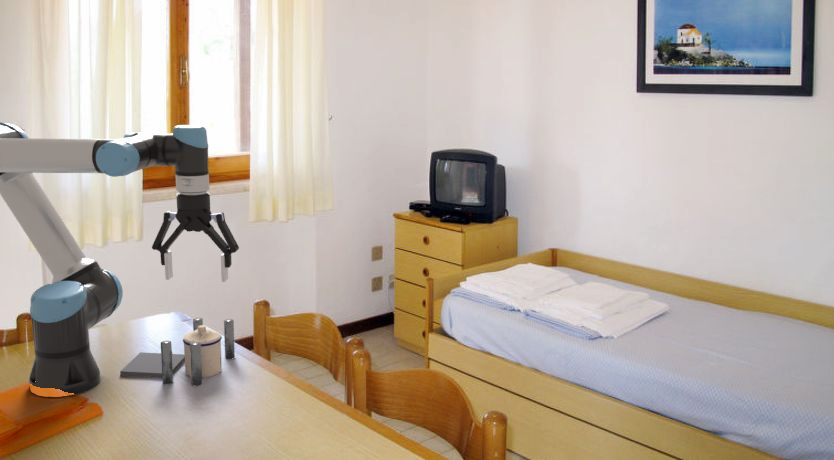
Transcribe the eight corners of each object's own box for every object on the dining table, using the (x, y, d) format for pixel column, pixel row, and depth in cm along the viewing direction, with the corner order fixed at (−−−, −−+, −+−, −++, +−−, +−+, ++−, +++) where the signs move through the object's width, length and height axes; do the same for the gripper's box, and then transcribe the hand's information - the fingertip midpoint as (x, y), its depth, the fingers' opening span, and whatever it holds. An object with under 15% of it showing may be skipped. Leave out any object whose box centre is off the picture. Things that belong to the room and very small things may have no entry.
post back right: (223, 359, 200) (222, 322, 198) (226, 355, 203) (225, 318, 200) (233, 359, 200) (232, 322, 198) (235, 356, 203) (234, 319, 200)
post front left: (161, 384, 185) (158, 344, 183) (164, 379, 187) (162, 340, 185) (171, 384, 185) (169, 344, 183) (174, 380, 187) (172, 340, 185)
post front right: (190, 385, 185) (188, 345, 182) (193, 381, 187) (192, 341, 185) (200, 386, 184) (198, 346, 182) (203, 381, 187) (202, 342, 184)
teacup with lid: (230, 371, 193) (228, 326, 191) (198, 382, 187) (196, 335, 184) (201, 357, 201) (199, 314, 198) (170, 368, 194) (168, 323, 192)
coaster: (120, 375, 189) (120, 371, 189) (140, 356, 201) (140, 352, 200) (169, 378, 188) (169, 373, 188) (186, 359, 200) (186, 354, 200)
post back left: (193, 357, 201) (191, 320, 198) (196, 354, 203) (194, 317, 201) (202, 358, 201) (200, 321, 198) (205, 354, 203) (203, 317, 201)
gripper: (134, 193, 181) (139, 281, 185) (241, 196, 179) (243, 285, 184) (147, 187, 188) (152, 272, 193) (249, 190, 187) (252, 276, 191)
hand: (197, 279), depth 188 cm, fingers open, 13 cm apart
